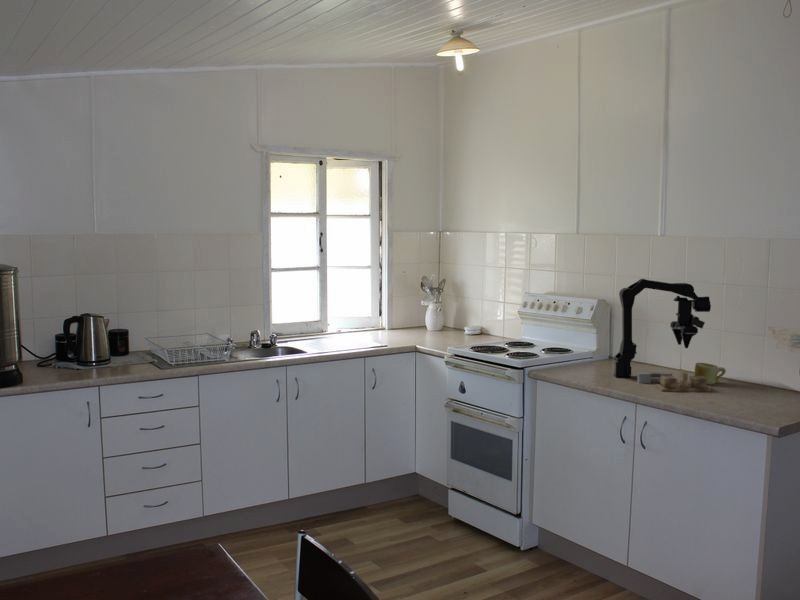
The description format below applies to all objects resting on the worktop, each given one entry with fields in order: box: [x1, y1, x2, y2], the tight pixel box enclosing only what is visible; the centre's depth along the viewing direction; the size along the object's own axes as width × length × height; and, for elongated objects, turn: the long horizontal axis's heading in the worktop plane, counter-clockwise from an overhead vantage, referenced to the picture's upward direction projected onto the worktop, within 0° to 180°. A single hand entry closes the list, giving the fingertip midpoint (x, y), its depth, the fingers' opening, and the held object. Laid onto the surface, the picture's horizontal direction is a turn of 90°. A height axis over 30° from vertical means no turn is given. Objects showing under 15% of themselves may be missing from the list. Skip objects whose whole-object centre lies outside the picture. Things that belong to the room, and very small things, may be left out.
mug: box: [694, 362, 727, 386], centre depth 324 cm, size 12×10×10 cm
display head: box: [655, 371, 712, 393], centre depth 313 cm, size 20×9×7 cm, turn 87°
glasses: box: [636, 372, 673, 384], centre depth 326 cm, size 14×3×4 cm, turn 87°
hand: (682, 346), depth 335 cm, fingers open, 9 cm apart
